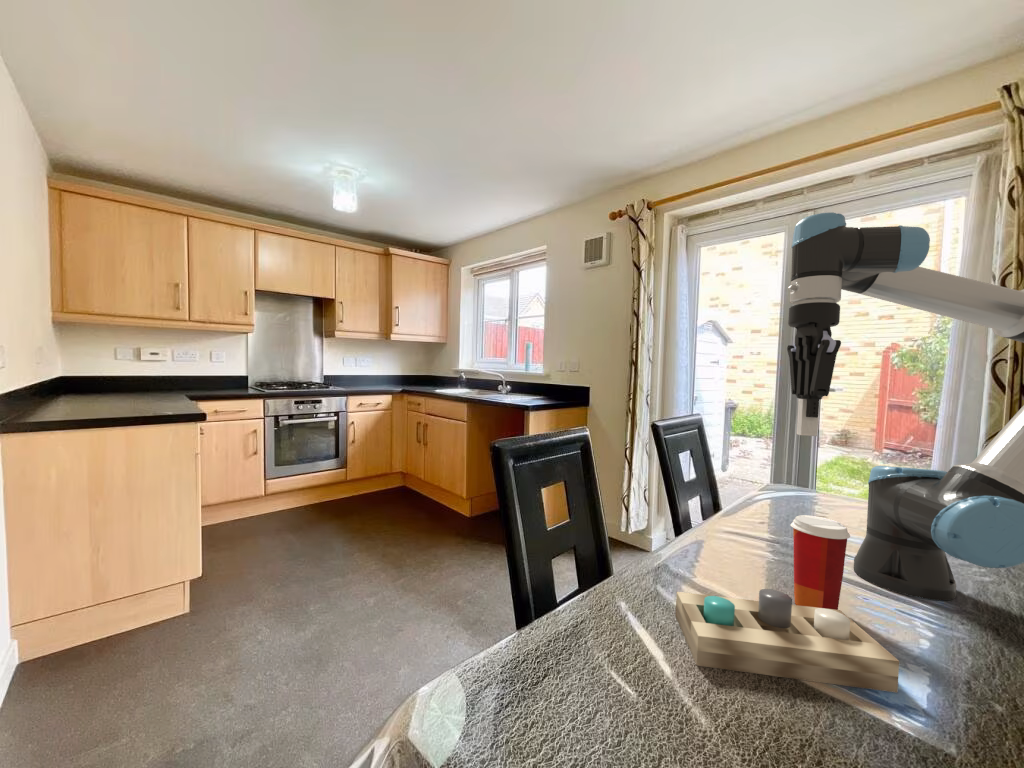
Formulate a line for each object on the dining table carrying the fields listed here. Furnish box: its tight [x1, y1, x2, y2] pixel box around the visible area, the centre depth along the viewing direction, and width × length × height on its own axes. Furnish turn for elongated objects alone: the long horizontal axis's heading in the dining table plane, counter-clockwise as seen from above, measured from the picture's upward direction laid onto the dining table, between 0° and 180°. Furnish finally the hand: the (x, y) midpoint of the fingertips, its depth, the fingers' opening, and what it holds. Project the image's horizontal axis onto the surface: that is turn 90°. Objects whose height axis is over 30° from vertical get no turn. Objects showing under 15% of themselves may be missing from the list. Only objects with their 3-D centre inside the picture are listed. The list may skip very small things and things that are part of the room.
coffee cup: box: [790, 514, 851, 610], centre depth 73 cm, size 8×8×15 cm
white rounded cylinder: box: [814, 608, 850, 640], centre depth 60 cm, size 4×4×4 cm
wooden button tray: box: [675, 591, 900, 694], centre depth 61 cm, size 24×12×4 cm, turn 82°
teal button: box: [703, 595, 735, 626], centre depth 62 cm, size 4×4×4 cm
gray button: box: [758, 588, 793, 628], centre depth 61 cm, size 4×4×4 cm
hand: (806, 435), depth 77 cm, fingers closed
